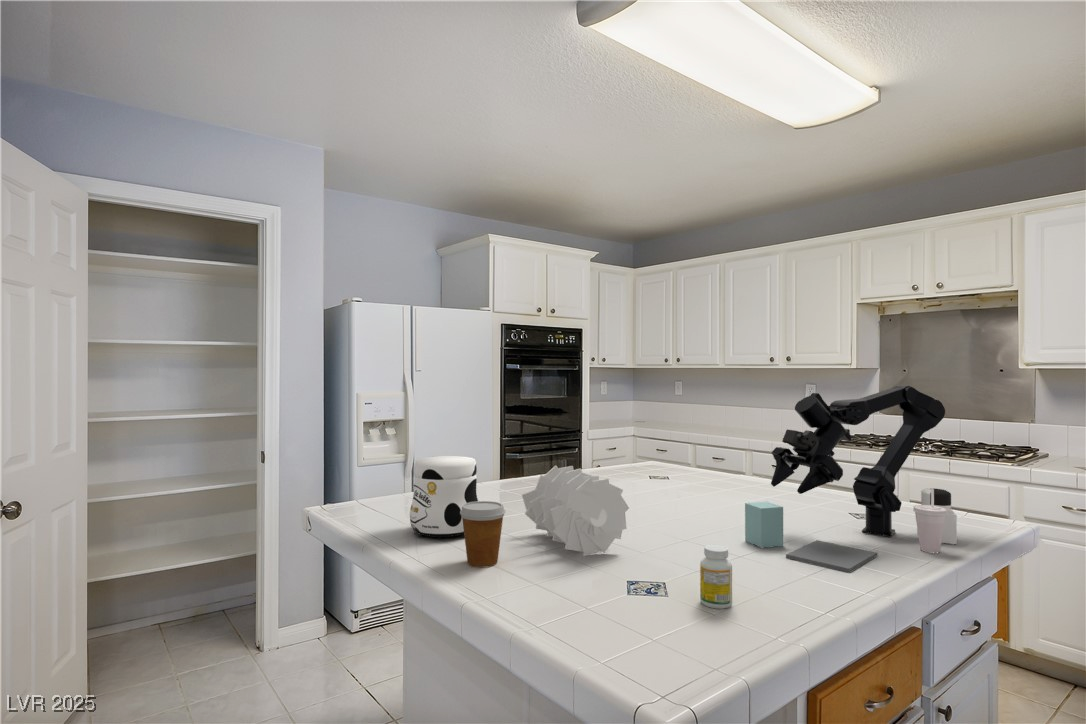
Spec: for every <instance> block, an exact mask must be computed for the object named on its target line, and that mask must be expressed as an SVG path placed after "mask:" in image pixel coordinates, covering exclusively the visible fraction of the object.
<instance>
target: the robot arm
mask: <svg viewBox="0 0 1086 724" xmlns="http://www.w3.org/2000/svg"><path fill="white" fill-rule="evenodd" d="M895 406H898V407H897V408H899V409H900V410H901V411H902V424H901V426H900V428H899V429H898V430H897V432H896V433H895V435H894V437H893V438H892V439H891V441H890V443H889V445H888V446H887V447H886V449H885V450H884V452H883V453H882V454H881V456H880V458H879V459H878V460H877V462H876V464H875V465H874V466H872V467H871V468H870V467H865V466H863V467H861V469H860V470H859V472H858V474H857V476H855V477H854V478H853V480H855V481H854V482H853V484H852V488H853V493H854V496H855V499H856V502H857V504H858V506H864V507H865V527H864V528H863V529H862V530H861V532H862V533H863V534H864V533H866V534H872V535H878V536H884V537H893V535H894V534H895V533H896V529H894V528H893V527H892V526H893V525H892V523H893V521H892V520H893V519H892V513H895V512H900V510H901V506H902V501H901V500H900V499H899V498H898V496H896V494H895V493H894V492H895V490H896V478H895V477H896V476H897V474H898V472H899V471H900V469H901V468H902V466H903V465H904V464H905V462H906V461H907V459H908V457H909V456H910V454H911V453H912V451H913V450H914V448H915V447H916V445H917V443H918V442H919V441H920V439H921V438H922V436H923V435H924V434H925V433H926V432H928V431H930V430H932V429H934V428H935V427H937V426H938V424H939V423H940V422H941V421H942V420H943V419H944V417H945V415H946V409H945V406H944V405H943V403H942V402H941V401H940V400H939V399H935V398H933V397H932V396H930V395H927V394H925V393H923V392H920V391H918V389H916V388H915V387H912V386H911V385H894V386H892V387H891V388H888V389H885V390H882V391H880V392H876V393H873V394H870V395H867V396H864V397H860V398H855V399H853V398H852V399H841V400H834V401H832V402H831V403H830V405H828V404H827V403H826V401H824V399H823V397H822V396H821V395H820V393H818V392H817V393H816V392H812V393H810V395H808V396H806V397H803V398H802V399H800V400H798V401H797V402H796V404H795V406H794V411H795V412H796V413H797V414H798V415H799V416H800V417H801V419H802V420H803V422H804V423H806V425H807V426H808V427H809V428H811V429H813V428H814V429H815V430H814V432H813V431H812V430H807V429H805V430H804V431H798V430H796V429H795V430H794V429H785V433H784V435H783V438H782V439H781V440H782V442H783V443H784V444H787V445H789V446H792V447H793V448H792V450H793V451H794V453H796V454H794V453H793V451H792V450H791V449H790V448H788V447H782V446H779V447H777V446H776V447H775V448H774V449H773V450H772V451H771V455H772V457H773V459H774V460H775V469H774V473H773V476H772V478H771V482H770V485H771V486H772V487H776V486H778V485H779V484H781V483H782V482H783V481H785V480H786V479H788V478H789V477H790V476H792V475H794V474H795V470H797V469H798V468H799V467H800V466H804V467H807V468H809V470H808V471H809V472H807V474H806V476H805V477H804V479H803V480H802V482H801V483H800V485H798V486H799V487H798V489H796V492H797V493H798V494H799V495H802V494H804V493H807V492H808V491H811V490H813V489H815V488H818V487H820V486H824V485H825V484H829V483H833V482H834V481H837V482H839V481H840V480H841V478H842V477H843V475H844V469H843V468H842V467H841V465H839V463H838V461H837V460H836V459H834V455H835V454H836V453H835V451H833V450H834V449H835V447H836V446H838V444H839V443H840V441H841V440H842V441H843V440H844V441H852V435H851V433H850V432H851V430H850V429H849V428H845V427H844V425H850V426H858V425H860V424H862V423H863V422H865V421H867V420H868V419H869V418H870V416H871V415H872V414H876V413H877V412H881V411H883V410H886V409H889V408H892V407H895Z"/></svg>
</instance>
